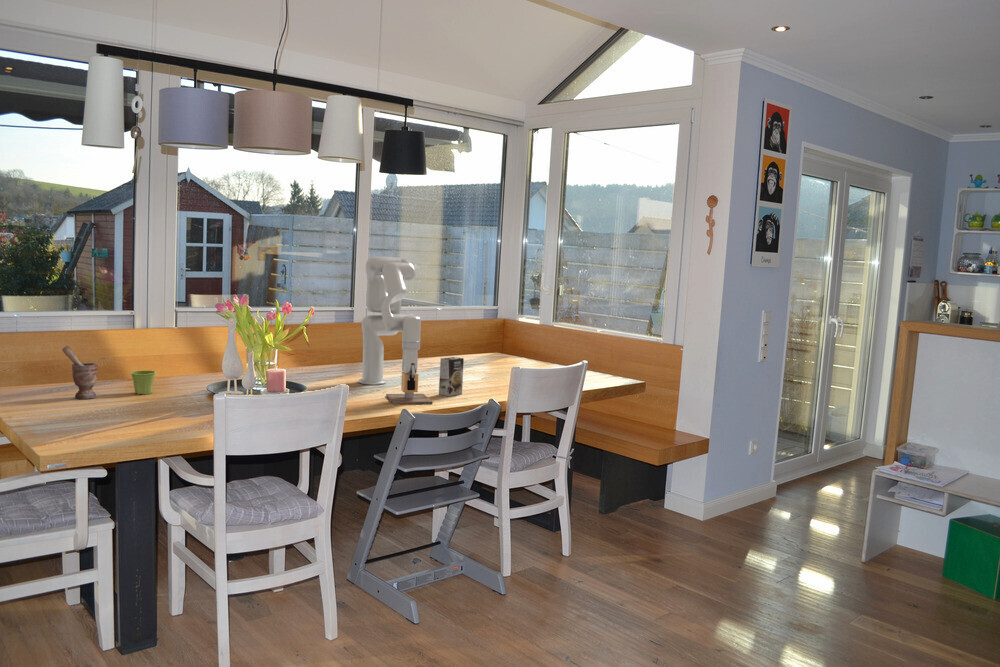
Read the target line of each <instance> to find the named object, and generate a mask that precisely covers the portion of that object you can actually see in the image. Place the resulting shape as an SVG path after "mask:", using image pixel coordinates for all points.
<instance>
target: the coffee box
mask: <svg viewBox="0 0 1000 667" xmlns="http://www.w3.org/2000/svg"><path fill="white" fill-rule="evenodd" d="M464 360H465V359H464V357H463V358H462V357H454V356H451V357H440V364H439V379H438V380H439V384H438V395H442V396H445V397H452V396H453V397H454V396H458V395H462V394H463V386H464V385H463V383H464V382H463V381H464V380H463V379H464V378H463V377H464Z"/></svg>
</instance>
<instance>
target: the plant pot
mask: <svg viewBox="0 0 1000 667" xmlns="http://www.w3.org/2000/svg"><path fill="white" fill-rule="evenodd" d="M156 373H157V371H156V370H134V371H131V372H130V375H131V378H132V381H133V382H132V383H133V389H134V394H135V393H137V394H136V395H138V394H139V395H143V394H146V395H150V394H152V393H153V387H154V386H153V385H154V380H155V376H156Z"/></svg>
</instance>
